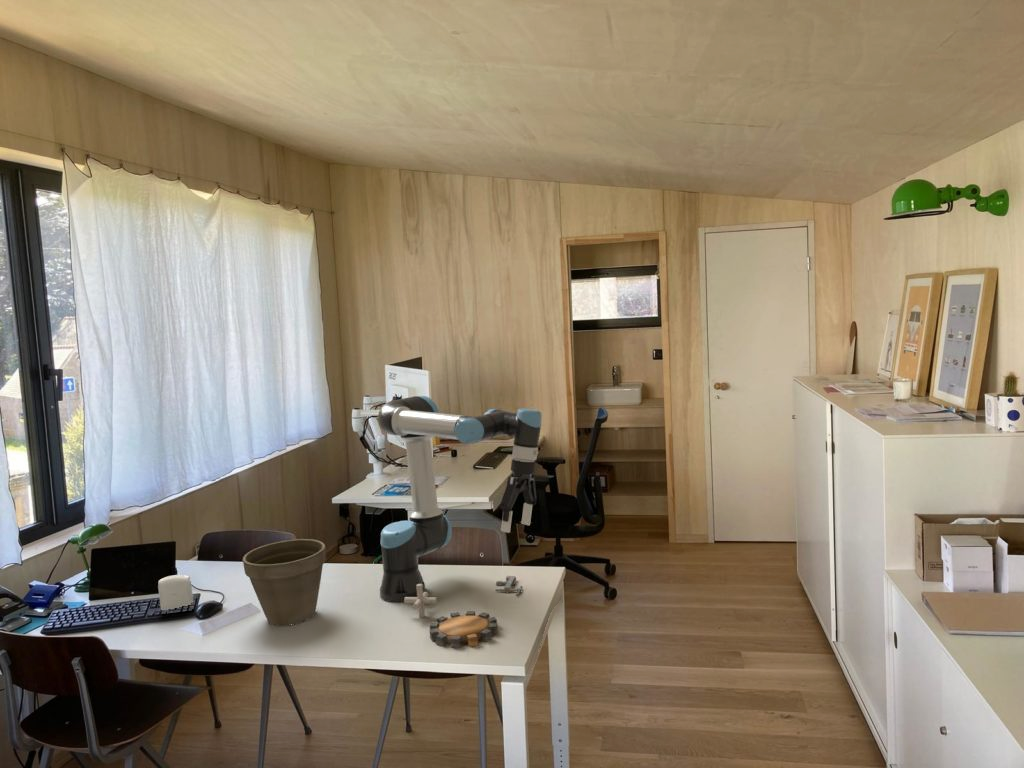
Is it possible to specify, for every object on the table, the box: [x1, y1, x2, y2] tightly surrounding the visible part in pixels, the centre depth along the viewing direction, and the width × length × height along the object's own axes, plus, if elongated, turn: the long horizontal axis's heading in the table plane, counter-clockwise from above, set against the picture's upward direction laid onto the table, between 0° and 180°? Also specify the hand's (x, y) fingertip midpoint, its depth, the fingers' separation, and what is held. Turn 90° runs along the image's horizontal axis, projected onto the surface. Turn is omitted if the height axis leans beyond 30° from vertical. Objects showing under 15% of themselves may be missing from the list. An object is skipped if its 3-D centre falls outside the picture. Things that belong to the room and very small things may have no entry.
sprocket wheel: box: [429, 610, 499, 649], centre depth 222 cm, size 20×20×2 cm
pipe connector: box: [403, 584, 438, 618], centre depth 236 cm, size 10×10×10 cm
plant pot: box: [242, 538, 327, 627], centre depth 242 cm, size 25×25×22 cm
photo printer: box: [157, 574, 194, 611], centre depth 253 cm, size 10×4×12 cm, turn 100°
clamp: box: [495, 575, 524, 597], centre depth 256 cm, size 15×2×10 cm
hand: (515, 528), depth 235 cm, fingers open, 13 cm apart
